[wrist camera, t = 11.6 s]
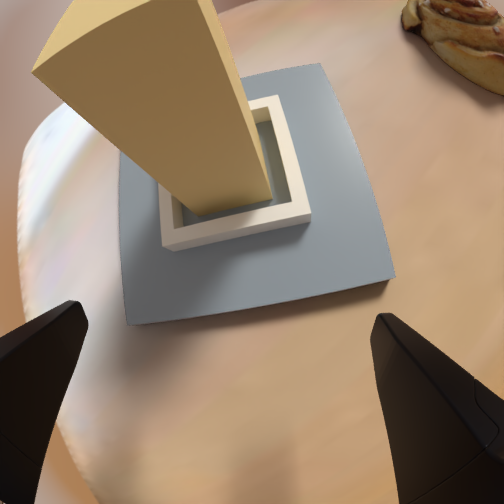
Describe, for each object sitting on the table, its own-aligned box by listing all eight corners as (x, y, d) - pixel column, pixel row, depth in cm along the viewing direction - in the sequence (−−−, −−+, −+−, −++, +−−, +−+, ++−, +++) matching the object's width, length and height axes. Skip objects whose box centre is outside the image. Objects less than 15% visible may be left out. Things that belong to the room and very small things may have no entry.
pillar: (272, 199, 16) (191, -15, 4) (198, 216, 17) (30, 72, 5) (258, 135, 17) (189, -54, 5) (191, 153, 18) (72, 1, 6)
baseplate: (389, 279, 15) (404, 273, 13) (137, 324, 18) (113, 325, 15) (320, 73, 19) (319, 48, 16) (130, 126, 21) (114, 109, 19)
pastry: (392, 1, 20) (397, -51, 12) (497, 37, 17) (515, -4, 9) (415, 69, 18) (435, -1, 10) (536, 115, 15) (571, 71, 7)
